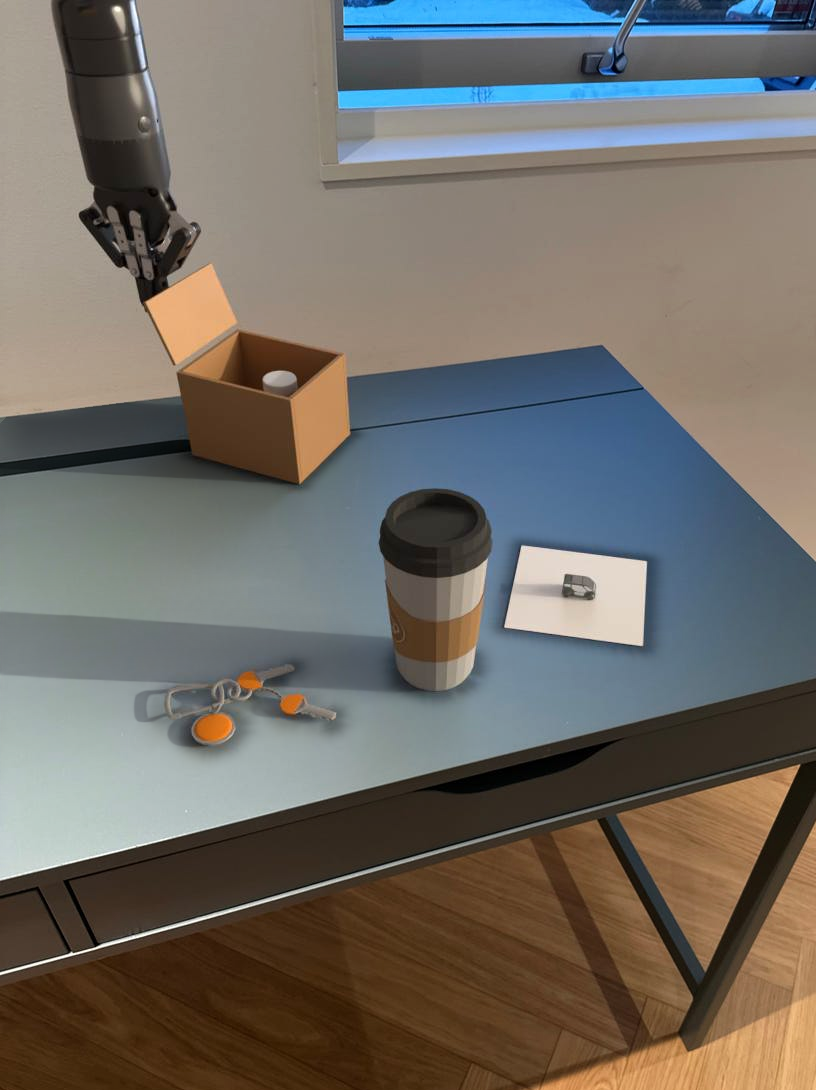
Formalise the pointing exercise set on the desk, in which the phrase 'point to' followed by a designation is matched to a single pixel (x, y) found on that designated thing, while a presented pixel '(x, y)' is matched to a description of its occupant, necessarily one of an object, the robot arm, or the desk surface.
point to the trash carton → (265, 405)
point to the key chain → (222, 725)
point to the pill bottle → (280, 383)
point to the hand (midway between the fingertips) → (157, 311)
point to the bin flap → (190, 313)
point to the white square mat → (578, 595)
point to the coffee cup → (435, 583)
